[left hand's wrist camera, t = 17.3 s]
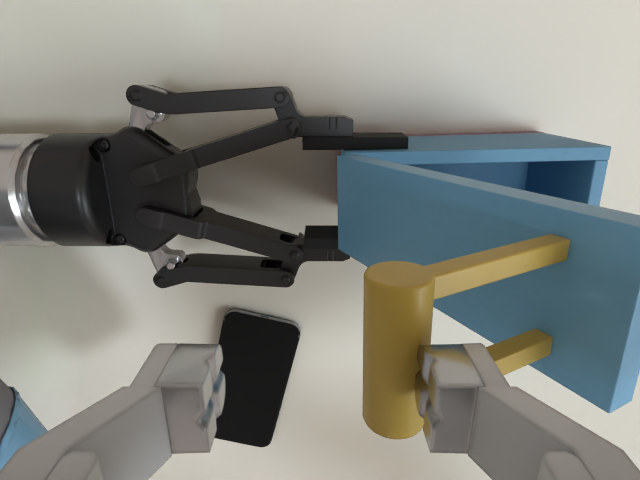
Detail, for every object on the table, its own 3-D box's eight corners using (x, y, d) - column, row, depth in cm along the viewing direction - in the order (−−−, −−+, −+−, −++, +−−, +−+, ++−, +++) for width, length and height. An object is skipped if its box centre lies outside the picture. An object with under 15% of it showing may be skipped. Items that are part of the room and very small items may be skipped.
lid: (678, 223, 11) (442, 293, 8) (632, 401, 13) (425, 520, 10) (354, 153, 25) (216, 167, 22) (354, 245, 27) (227, 272, 24)
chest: (538, 131, 34) (611, 146, 25) (528, 202, 36) (593, 239, 27) (340, 136, 34) (345, 152, 26) (341, 206, 36) (345, 244, 28)
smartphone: (303, 326, 39) (269, 449, 44) (303, 323, 40) (270, 444, 45) (224, 309, 39) (199, 435, 44) (226, 305, 40) (201, 430, 44)
